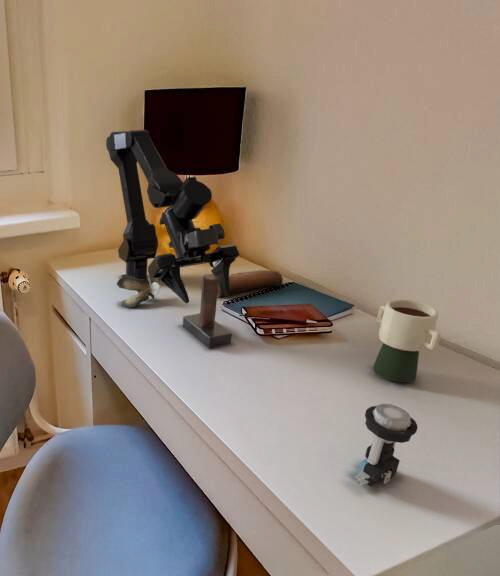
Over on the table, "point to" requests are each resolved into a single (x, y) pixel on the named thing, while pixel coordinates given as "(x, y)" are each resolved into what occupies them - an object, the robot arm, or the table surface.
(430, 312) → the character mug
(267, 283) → the sunglasses case
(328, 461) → the table surface
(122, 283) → the eagle figurine
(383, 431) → the push button
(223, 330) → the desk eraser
